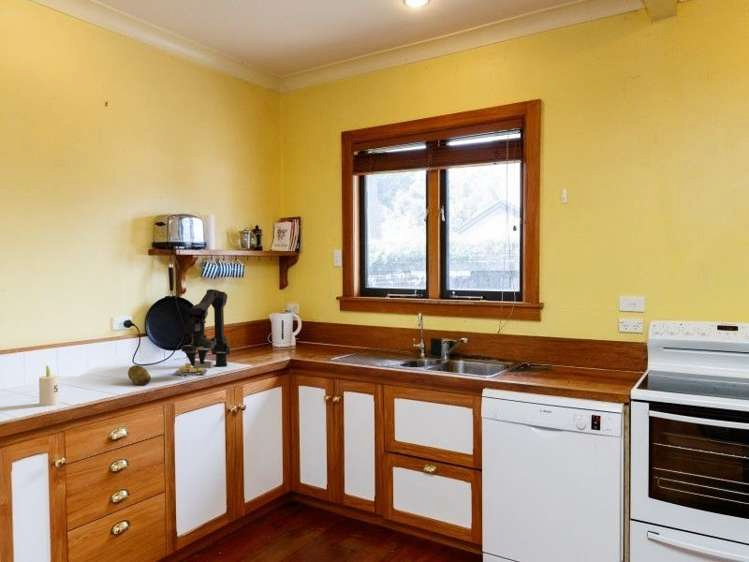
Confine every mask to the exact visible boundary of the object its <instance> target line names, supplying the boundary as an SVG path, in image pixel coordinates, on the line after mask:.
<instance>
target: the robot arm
mask: <svg viewBox="0 0 749 562" xmlns="http://www.w3.org/2000/svg"><path fill="white" fill-rule="evenodd" d="M227 300H228V294H227V293H226V292H225V291H220V290H218V289H216V288H215V289H211V288H208V289H206V293H205V294H204V296H203V297H202V298H201V300H200V301H199V303H197V304H195V305H193V306H192V307H191V309H190V310H189V313H188V315H187V316H188V317H187V320H186V323H184V325H183V331H184V333H185V334H186V335H190V336H189V338H191V343H190V344H187V345H182V346H181V352H184V354H185V355H186V357H187V358H188V360H189V363H191V365H192V366H194V365H195V360H196V355H198V359H199V361H200V364H203V362H204V361H206V360H205V359H206V357H207V354H208V353H209V352H210V351H211V355H215V364H213V367H227V366H228V365H229V363H228V361H227V360H228V358H227V356H228V355H231V347H230V345H229V343H228V338H227V337H226V336H225V324H224V323H225V322H224V321H225V319H224V312H225V311H224V309H225V306H226V305H227ZM211 306H212V308H213V313H214V314H213V316H214V319H213V320H214V322H213V323H214V336H213V337H212V338H208V336H207V334H205V328H206V327H205V326H206V323H207V321H206V319H207V317H208V315H209V311H208V310H209V308H210V307H211ZM227 364H228V365H227ZM226 365H227V366H226Z"/></svg>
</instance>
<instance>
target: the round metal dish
mask: <svg viewBox="0 0 749 562" xmlns="http://www.w3.org/2000/svg"><path fill="white" fill-rule="evenodd" d="M188 368H195V367H188ZM203 369H204V370H201V371H197V372H181V371H179V369H177V370H175V373H174V374H175V375H176V376H178V375H183V376H182V377H188V376H187V375H197V376H200V375H199V374H203V375H205V374H204V373H206V372H207V373H208V368H203ZM207 373H206V374H207Z"/></svg>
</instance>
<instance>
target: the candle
mask: <svg viewBox="0 0 749 562" xmlns="http://www.w3.org/2000/svg"><path fill="white" fill-rule="evenodd" d="M45 372H46V373H45V374H46V375H42V376H39V378H38V389H39V391H38V395H39V396H38V397H39V399H38V400H39V407H40V406H41V407H49V406H56V405H58V404H59V376H58V375H56V374H55V375H53V374H52V375H51V372H50V367H49V366H48V365H45Z"/></svg>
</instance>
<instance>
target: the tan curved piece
mask: <svg viewBox="0 0 749 562" xmlns="http://www.w3.org/2000/svg"><path fill="white" fill-rule="evenodd" d="M188 367H195V368H188ZM203 368H204V369H210V370H211V369H213V368H214V361H210V360H204V362H203V364H200V360H197V359H195V365H194V366H192V365H191V363H190V362H186V363H184V365H181V366H179V367H178V370H179V371H181V372H197V371H201V370H204V369H203Z"/></svg>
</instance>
